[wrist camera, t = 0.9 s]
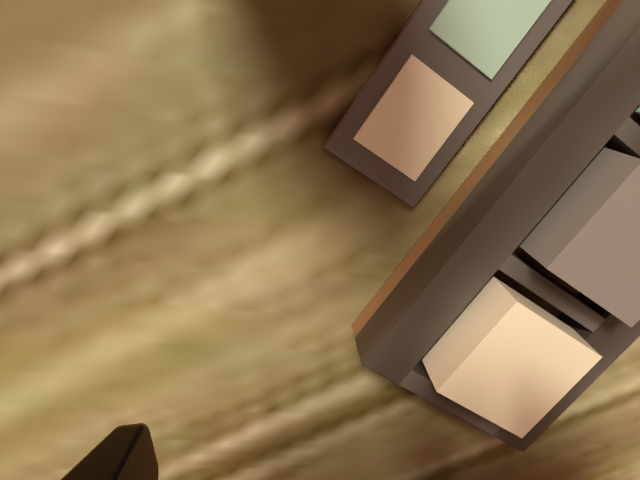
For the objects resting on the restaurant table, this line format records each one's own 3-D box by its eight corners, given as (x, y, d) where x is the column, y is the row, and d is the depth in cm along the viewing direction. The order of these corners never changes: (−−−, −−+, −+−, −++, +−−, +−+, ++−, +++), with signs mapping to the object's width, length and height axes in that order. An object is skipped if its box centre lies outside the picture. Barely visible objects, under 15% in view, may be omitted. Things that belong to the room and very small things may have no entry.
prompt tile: (580, -20, 18) (590, -22, 17) (410, 204, 20) (414, 208, 20) (491, -104, 16) (499, -109, 16) (323, 145, 19) (324, 148, 18)
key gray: (682, 212, 19) (727, 231, 17) (598, 301, 20) (631, 327, 18) (604, 147, 17) (643, 159, 16) (519, 246, 19) (546, 268, 17)
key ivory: (572, 328, 20) (602, 357, 18) (500, 404, 21) (521, 438, 20) (493, 276, 19) (517, 301, 17) (421, 359, 20) (436, 391, 18)
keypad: (806, 77, 20) (893, 82, 17) (495, 405, 25) (523, 451, 22) (665, -74, 17) (740, -96, 14) (351, 325, 22) (362, 365, 19)
